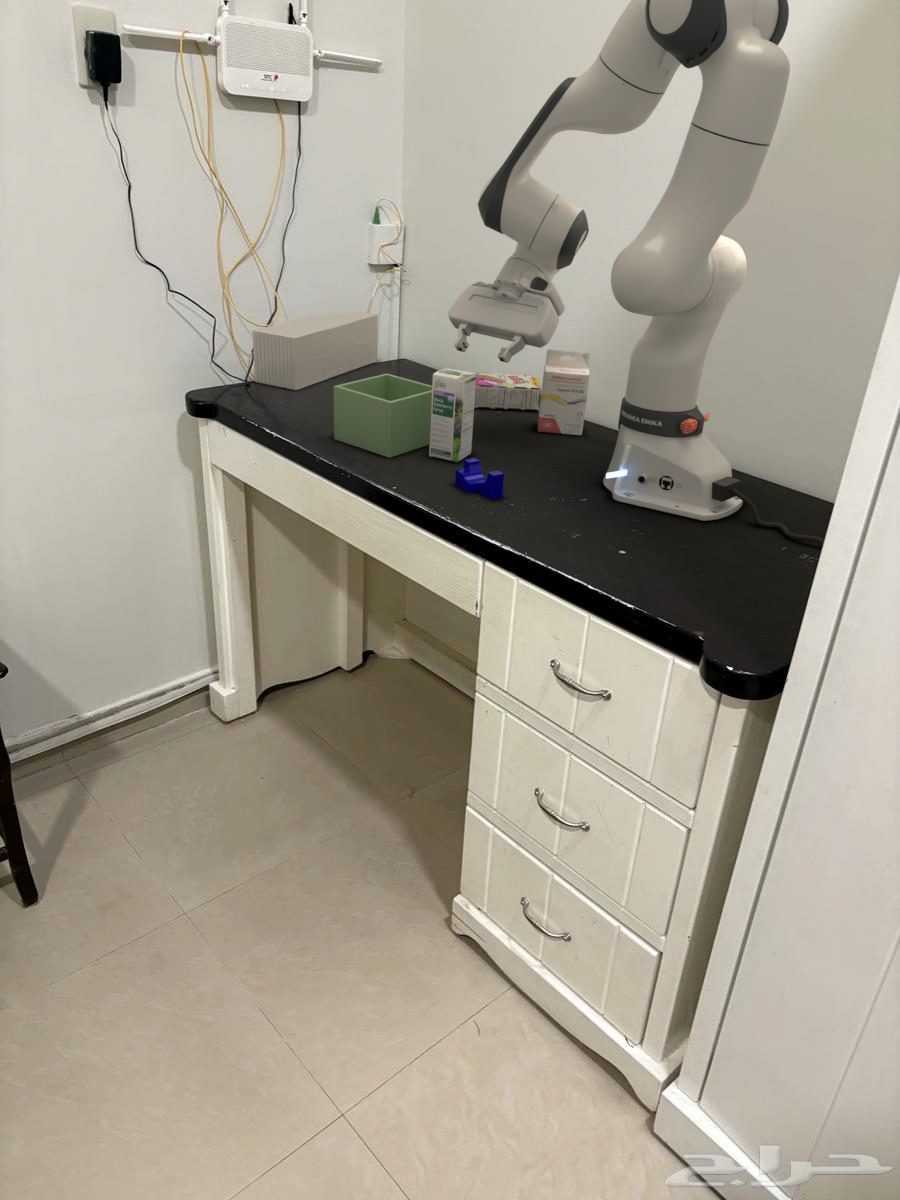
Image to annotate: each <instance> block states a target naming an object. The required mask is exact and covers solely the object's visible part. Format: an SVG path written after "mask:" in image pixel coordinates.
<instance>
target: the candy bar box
mask: <svg viewBox="0 0 900 1200" xmlns="http://www.w3.org/2000/svg"><path fill="white" fill-rule="evenodd" d="M469 372H470V373H476V388H475V403H474V409H492V410H511V411H513V410H514V411H533V412H534V411H535V412H539V409H540V400H541V391H542V386H541V384H540V381H539V378H538V379H536V378H534V377H531V376H527V375H528V374H519V373H518V374H516V373H496V372H495V373H493V372H473V371H472V372H471V371H469Z"/></svg>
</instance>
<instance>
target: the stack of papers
mask: <svg viewBox="0 0 900 1200" xmlns="http://www.w3.org/2000/svg"><path fill="white" fill-rule="evenodd" d="M308 316H309V317H308ZM308 316H304V317H300V318H296V319H292V320H289V321H285V322H280V323H276V324H271V325H269V326H265V327H261V328H256V329H254V330H253V329H252V330H251V331H252V332H251V333H252V349H253V351H252V352H253V369H254V371H253V372H254V382H256V383H259V384H262V385H263V384H264V385H268V386H273V387H279V388H283V389H284V388H285V389H288V390H293V391H298V390H301V389H303V388H306V387H309V386H312V385H315V384H319V383H321V382H323V381H327V380H329V379H331V378H334V377H337V376H340V375H342V374H345V373H348V372H351V371H354V370H356V369H359V368H362V367H365V366H368V365H371V364H374V363H376V362H378V342H379V341H378V339H379V338H378V334H379V333H378V331H379V330H378V329H379V328H378V327H379V317H378V316H379V314H376V313H370V312H363V311H358V312H352V313H343V314H342V313H339V314H334V315H333V314H330V315H320V316H311V315H308Z"/></svg>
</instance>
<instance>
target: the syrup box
mask: <svg viewBox="0 0 900 1200" xmlns="http://www.w3.org/2000/svg"><path fill="white" fill-rule="evenodd" d="M470 372H471V371H465V370H461V369H460V370H459V369H454V368H450V367H446V368H442V369H440V370H437V371H435V372H434V373H432V380H431V382H432V383H431V386H432V404H431V430H430V445H428V446H429V448H428V450H429V451H428V457H430V458H438V459H441V460H446V461H450V462H454V463H458V462H460V461H462V460H464V459H465V458H467V457H468V456H469V455H471V454H472V446H473V445H472V443H473V431H474V418H475V417H474V416H475V408H474V403H475V388H476V373H477V372H474V373H470Z"/></svg>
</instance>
